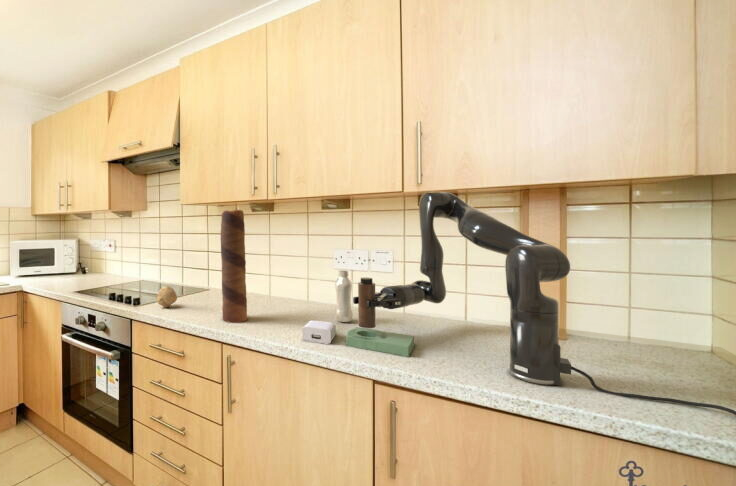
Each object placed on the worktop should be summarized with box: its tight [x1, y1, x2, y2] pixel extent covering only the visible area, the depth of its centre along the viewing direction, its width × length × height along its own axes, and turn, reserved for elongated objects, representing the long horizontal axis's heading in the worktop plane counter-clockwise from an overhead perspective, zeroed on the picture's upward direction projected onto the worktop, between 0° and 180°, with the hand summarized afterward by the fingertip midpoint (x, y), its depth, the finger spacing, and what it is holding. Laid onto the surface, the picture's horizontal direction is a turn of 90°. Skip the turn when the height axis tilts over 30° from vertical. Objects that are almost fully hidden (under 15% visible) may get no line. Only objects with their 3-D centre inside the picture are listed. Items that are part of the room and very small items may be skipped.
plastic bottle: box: [334, 270, 354, 323], centre depth 143 cm, size 6×7×20 cm
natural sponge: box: [156, 285, 178, 308], centre depth 171 cm, size 9×9×10 cm
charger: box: [301, 319, 337, 345], centre depth 125 cm, size 5×9×15 cm
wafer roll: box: [220, 209, 248, 323], centre depth 147 cm, size 10×11×45 cm
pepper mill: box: [357, 276, 377, 329], centre depth 118 cm, size 5×5×16 cm
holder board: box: [345, 326, 416, 358], centre depth 116 cm, size 19×12×3 cm, turn 55°
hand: (361, 302), depth 116 cm, fingers closed on pepper mill, 5 cm apart
